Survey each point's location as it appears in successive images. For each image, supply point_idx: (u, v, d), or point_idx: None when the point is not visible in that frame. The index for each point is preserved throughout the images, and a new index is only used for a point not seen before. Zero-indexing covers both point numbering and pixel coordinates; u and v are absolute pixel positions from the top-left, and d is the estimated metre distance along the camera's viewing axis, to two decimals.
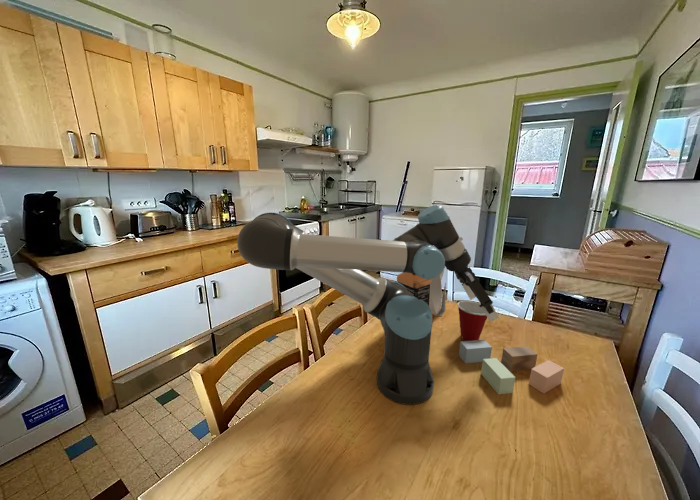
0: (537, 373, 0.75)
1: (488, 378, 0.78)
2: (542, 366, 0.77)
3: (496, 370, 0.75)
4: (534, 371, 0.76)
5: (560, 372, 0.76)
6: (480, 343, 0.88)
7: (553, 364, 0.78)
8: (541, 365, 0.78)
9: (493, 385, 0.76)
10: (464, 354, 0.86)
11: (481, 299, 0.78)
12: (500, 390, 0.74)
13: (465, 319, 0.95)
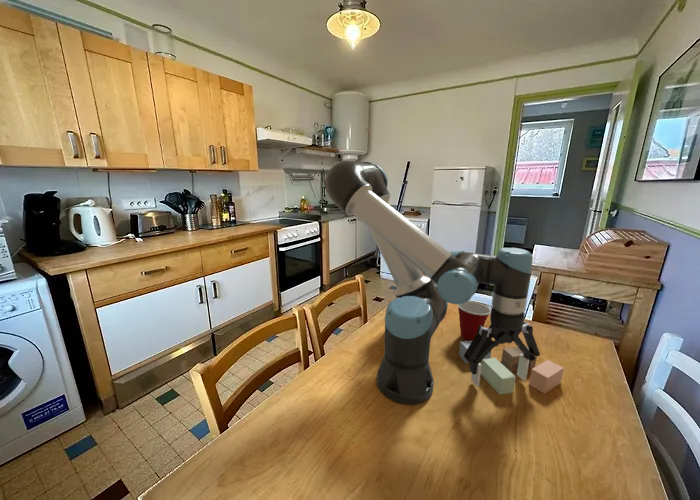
0: (538, 373, 0.75)
1: (488, 378, 0.78)
2: (542, 366, 0.77)
3: (496, 370, 0.75)
4: (534, 371, 0.76)
5: (560, 371, 0.76)
6: None
7: (552, 363, 0.78)
8: (541, 365, 0.77)
9: (494, 385, 0.76)
10: None
11: (468, 350, 0.75)
12: (501, 390, 0.73)
13: (465, 319, 0.95)
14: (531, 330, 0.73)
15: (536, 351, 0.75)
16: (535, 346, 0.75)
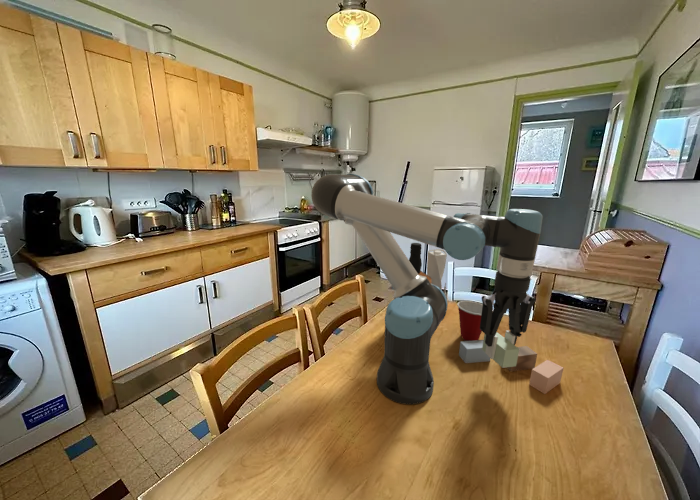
0: (538, 373, 0.75)
1: None
2: (542, 366, 0.77)
3: (499, 343, 0.73)
4: (535, 372, 0.75)
5: (560, 371, 0.76)
6: (480, 343, 0.88)
7: (552, 363, 0.78)
8: (541, 365, 0.77)
9: (496, 359, 0.74)
10: (464, 354, 0.86)
11: (481, 322, 0.73)
12: (504, 363, 0.71)
13: (465, 318, 0.95)
14: (532, 303, 0.71)
15: (524, 326, 0.73)
16: (527, 321, 0.73)
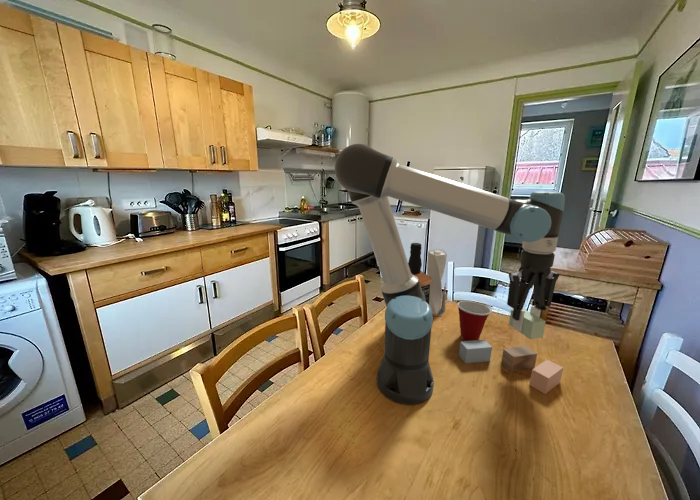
0: (538, 373, 0.75)
1: None
2: (542, 366, 0.77)
3: (526, 317, 0.79)
4: (535, 372, 0.75)
5: (559, 371, 0.76)
6: (480, 343, 0.88)
7: (552, 363, 0.78)
8: (541, 365, 0.77)
9: (524, 331, 0.79)
10: (464, 354, 0.86)
11: (508, 298, 0.79)
12: (532, 334, 0.77)
13: (465, 319, 0.95)
14: (556, 278, 0.77)
15: (549, 301, 0.79)
16: (551, 295, 0.79)
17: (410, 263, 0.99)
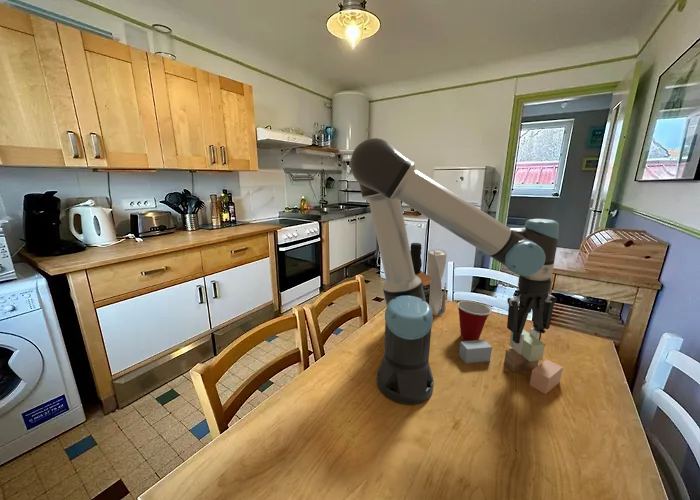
0: (538, 373, 0.75)
1: None
2: (542, 366, 0.77)
3: (526, 339, 0.81)
4: (535, 372, 0.75)
5: (559, 371, 0.76)
6: (480, 343, 0.88)
7: (551, 363, 0.78)
8: (541, 365, 0.77)
9: (523, 353, 0.81)
10: (464, 354, 0.86)
11: (508, 322, 0.81)
12: (531, 357, 0.79)
13: (465, 319, 0.95)
14: (554, 302, 0.79)
15: (548, 324, 0.81)
16: (549, 318, 0.80)
17: None
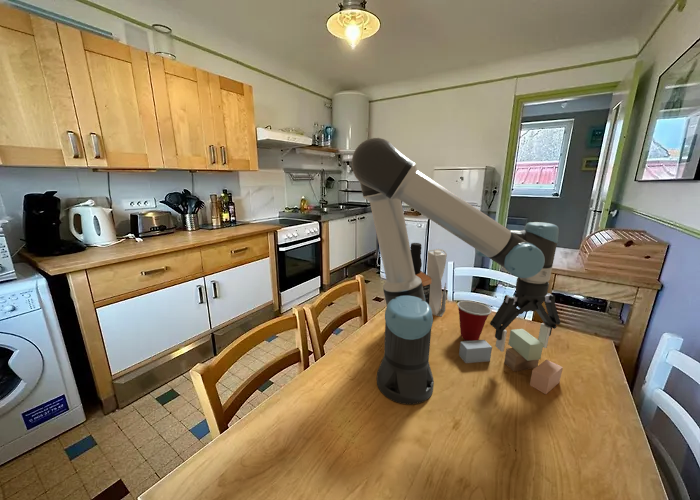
0: (539, 374, 0.75)
1: (516, 347, 0.84)
2: (542, 366, 0.77)
3: (525, 338, 0.81)
4: (535, 372, 0.75)
5: (559, 371, 0.76)
6: (480, 343, 0.88)
7: (551, 363, 0.78)
8: (541, 365, 0.77)
9: (522, 352, 0.81)
10: (464, 354, 0.86)
11: (494, 317, 0.81)
12: (529, 356, 0.79)
13: (465, 319, 0.95)
14: (553, 300, 0.79)
15: (557, 320, 0.81)
16: (556, 315, 0.81)
17: None
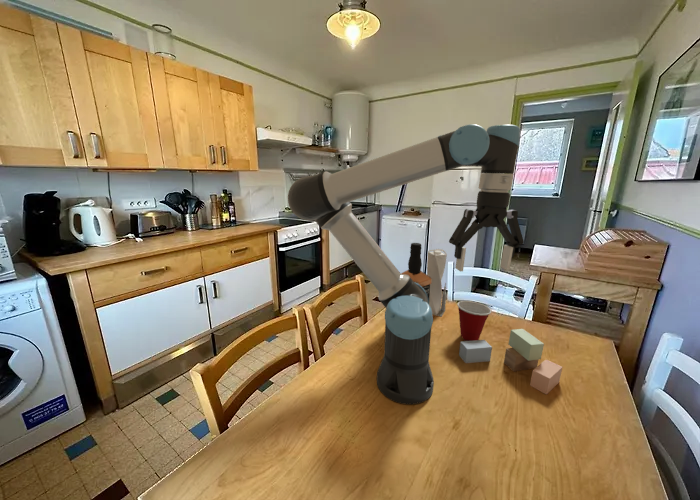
0: (539, 374, 0.74)
1: (517, 347, 0.84)
2: (542, 366, 0.77)
3: (525, 338, 0.81)
4: (536, 372, 0.75)
5: (559, 371, 0.76)
6: (480, 343, 0.88)
7: (551, 363, 0.78)
8: (541, 365, 0.77)
9: (522, 352, 0.81)
10: (464, 354, 0.86)
11: (453, 234, 0.75)
12: (530, 356, 0.79)
13: (465, 319, 0.95)
14: (516, 215, 0.74)
15: (520, 238, 0.76)
16: (519, 233, 0.76)
17: (410, 263, 0.99)
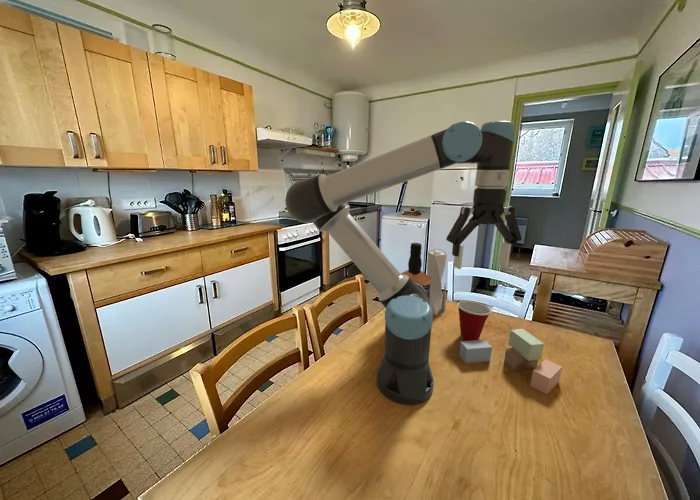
0: (539, 374, 0.74)
1: (517, 347, 0.84)
2: (542, 366, 0.77)
3: (525, 338, 0.81)
4: (536, 372, 0.75)
5: (559, 370, 0.76)
6: (480, 343, 0.88)
7: (551, 363, 0.78)
8: (541, 365, 0.77)
9: (522, 352, 0.81)
10: (464, 354, 0.86)
11: (450, 232, 0.75)
12: (530, 356, 0.79)
13: (465, 319, 0.95)
14: (513, 211, 0.74)
15: (518, 235, 0.76)
16: (517, 229, 0.75)
17: (410, 263, 0.99)
